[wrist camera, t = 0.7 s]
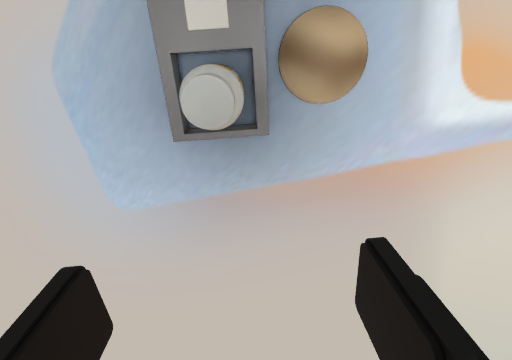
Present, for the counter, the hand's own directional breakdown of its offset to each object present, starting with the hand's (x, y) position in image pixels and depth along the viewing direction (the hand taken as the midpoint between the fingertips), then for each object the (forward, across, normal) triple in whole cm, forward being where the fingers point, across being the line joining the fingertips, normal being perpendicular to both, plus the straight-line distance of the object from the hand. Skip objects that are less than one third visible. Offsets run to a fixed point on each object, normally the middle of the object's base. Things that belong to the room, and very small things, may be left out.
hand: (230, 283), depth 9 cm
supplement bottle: (+23, +2, -4) cm, 24 cm away
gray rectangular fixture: (+23, +2, -8) cm, 24 cm away
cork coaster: (+23, -9, -7) cm, 26 cm away
